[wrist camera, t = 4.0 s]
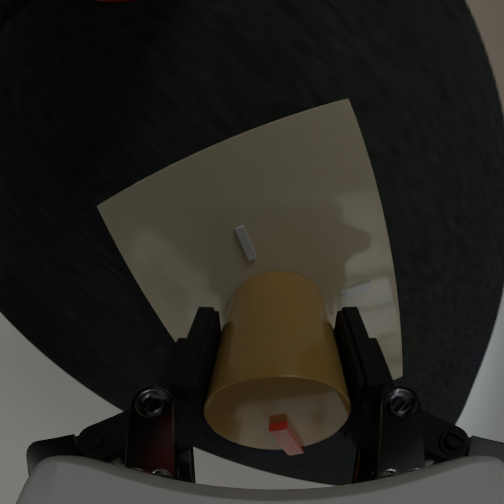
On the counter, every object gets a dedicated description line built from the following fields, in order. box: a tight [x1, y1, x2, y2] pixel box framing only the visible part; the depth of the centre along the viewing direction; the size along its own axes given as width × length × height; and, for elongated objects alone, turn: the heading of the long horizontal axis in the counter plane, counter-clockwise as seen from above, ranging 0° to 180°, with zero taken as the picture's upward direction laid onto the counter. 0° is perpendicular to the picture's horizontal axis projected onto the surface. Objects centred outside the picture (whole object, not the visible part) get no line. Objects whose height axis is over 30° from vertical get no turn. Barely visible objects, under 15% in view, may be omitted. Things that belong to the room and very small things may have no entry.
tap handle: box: [203, 271, 351, 455], centre depth 9 cm, size 4×4×6 cm
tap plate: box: [97, 99, 403, 380], centre depth 13 cm, size 15×11×2 cm
